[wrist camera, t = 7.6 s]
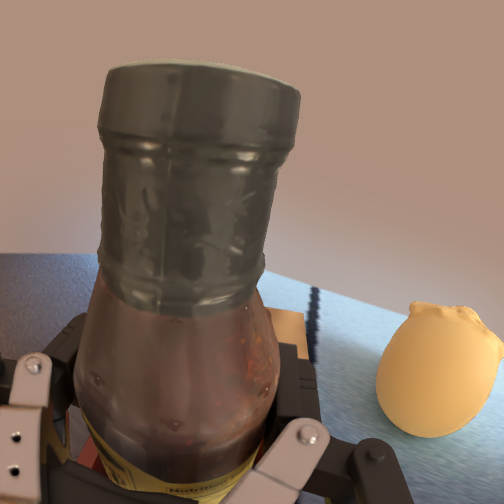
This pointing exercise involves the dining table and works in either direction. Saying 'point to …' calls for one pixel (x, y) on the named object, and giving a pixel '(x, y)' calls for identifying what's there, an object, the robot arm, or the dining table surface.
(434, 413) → the tan rounded lump
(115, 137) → the sauce bottle
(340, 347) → the dining table surface
